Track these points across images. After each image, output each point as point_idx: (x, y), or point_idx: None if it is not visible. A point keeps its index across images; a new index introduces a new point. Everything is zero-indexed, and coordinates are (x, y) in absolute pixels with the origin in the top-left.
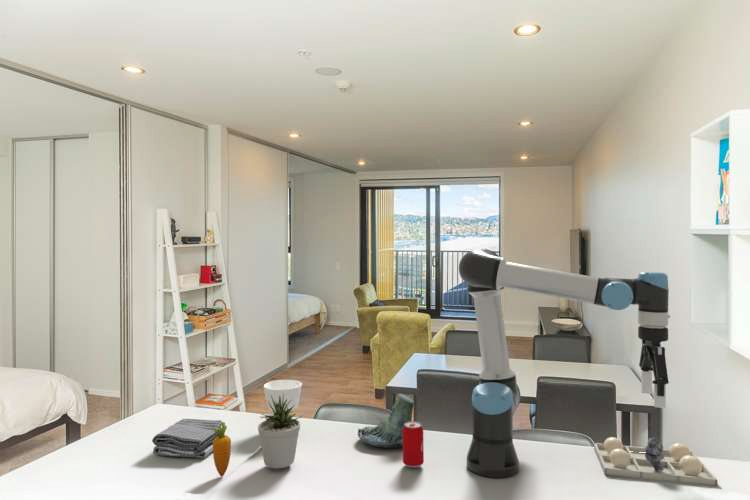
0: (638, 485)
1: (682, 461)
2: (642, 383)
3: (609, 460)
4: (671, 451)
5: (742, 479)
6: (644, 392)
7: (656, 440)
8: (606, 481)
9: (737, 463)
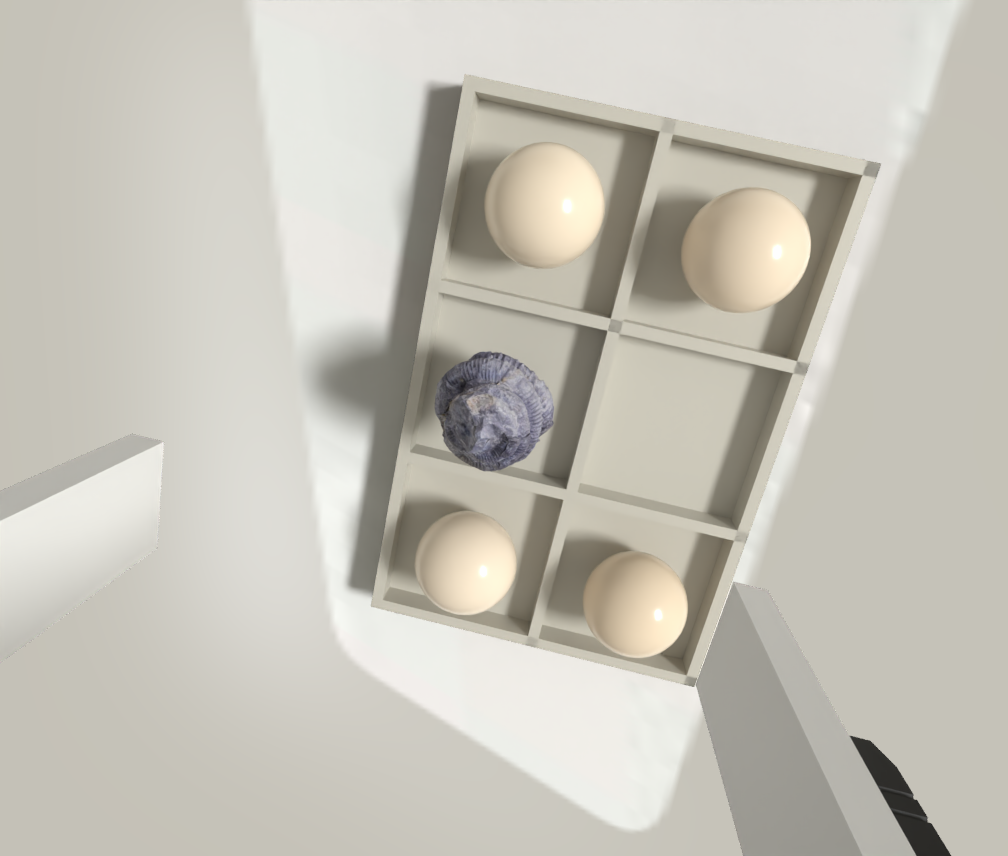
0: (360, 229)
1: (455, 530)
2: (772, 675)
3: (642, 186)
4: (630, 561)
5: (465, 730)
6: (724, 616)
7: (463, 439)
8: (390, 61)
9: (628, 814)
